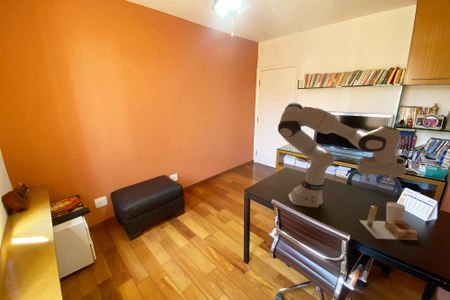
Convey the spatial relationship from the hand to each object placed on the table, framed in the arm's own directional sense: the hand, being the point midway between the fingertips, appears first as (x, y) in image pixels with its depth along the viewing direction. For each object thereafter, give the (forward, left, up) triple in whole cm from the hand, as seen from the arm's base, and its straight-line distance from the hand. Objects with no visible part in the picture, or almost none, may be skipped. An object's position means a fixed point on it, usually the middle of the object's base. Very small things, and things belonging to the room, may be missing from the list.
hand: (377, 181), depth 102 cm
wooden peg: (-2, -4, -25) cm, 25 cm away
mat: (+5, -7, -26) cm, 27 cm away
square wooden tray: (+10, -9, -25) cm, 29 cm away
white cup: (+15, 0, -25) cm, 29 cm away
